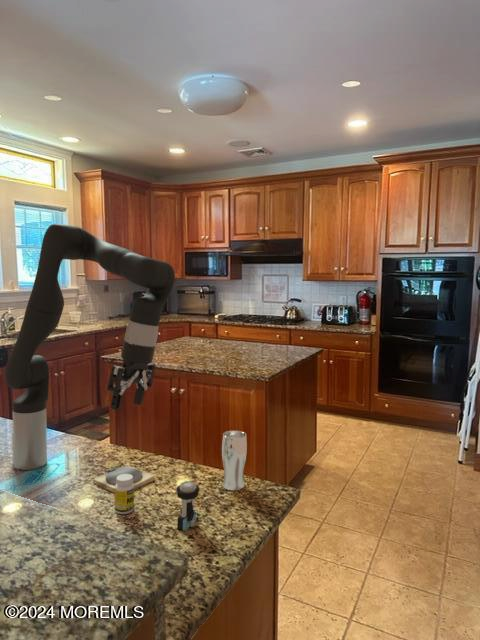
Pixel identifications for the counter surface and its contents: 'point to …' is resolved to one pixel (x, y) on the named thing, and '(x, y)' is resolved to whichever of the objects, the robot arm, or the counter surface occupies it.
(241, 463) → the beer glass
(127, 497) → the supplement bottle
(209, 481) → the counter surface
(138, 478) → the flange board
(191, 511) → the push button
